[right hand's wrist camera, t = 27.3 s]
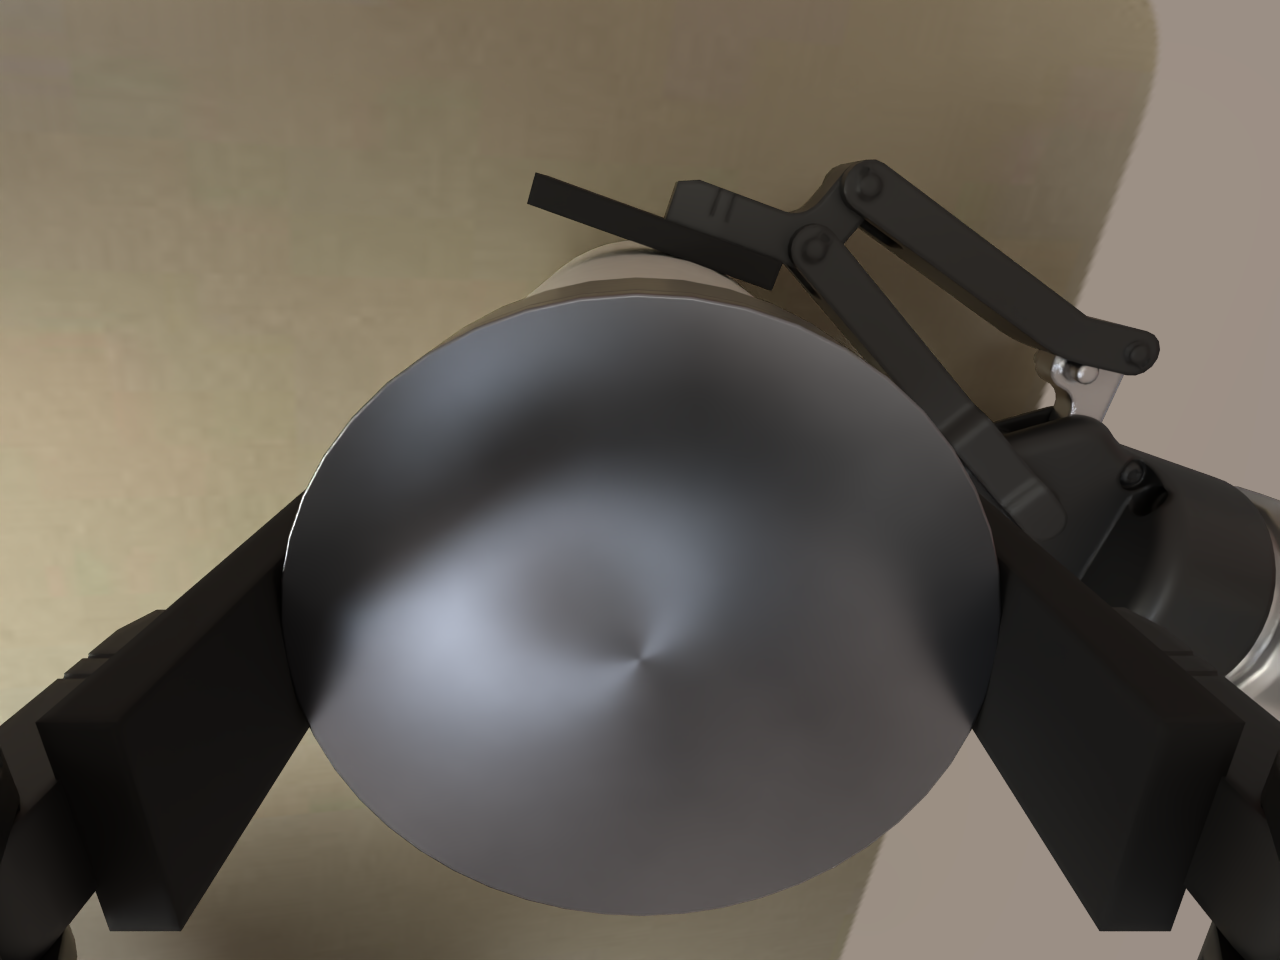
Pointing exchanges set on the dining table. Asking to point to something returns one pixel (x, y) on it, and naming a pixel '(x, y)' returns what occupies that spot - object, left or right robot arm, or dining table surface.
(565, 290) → the lid
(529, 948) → the dining table surface
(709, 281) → the jar
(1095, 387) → the left robot arm
